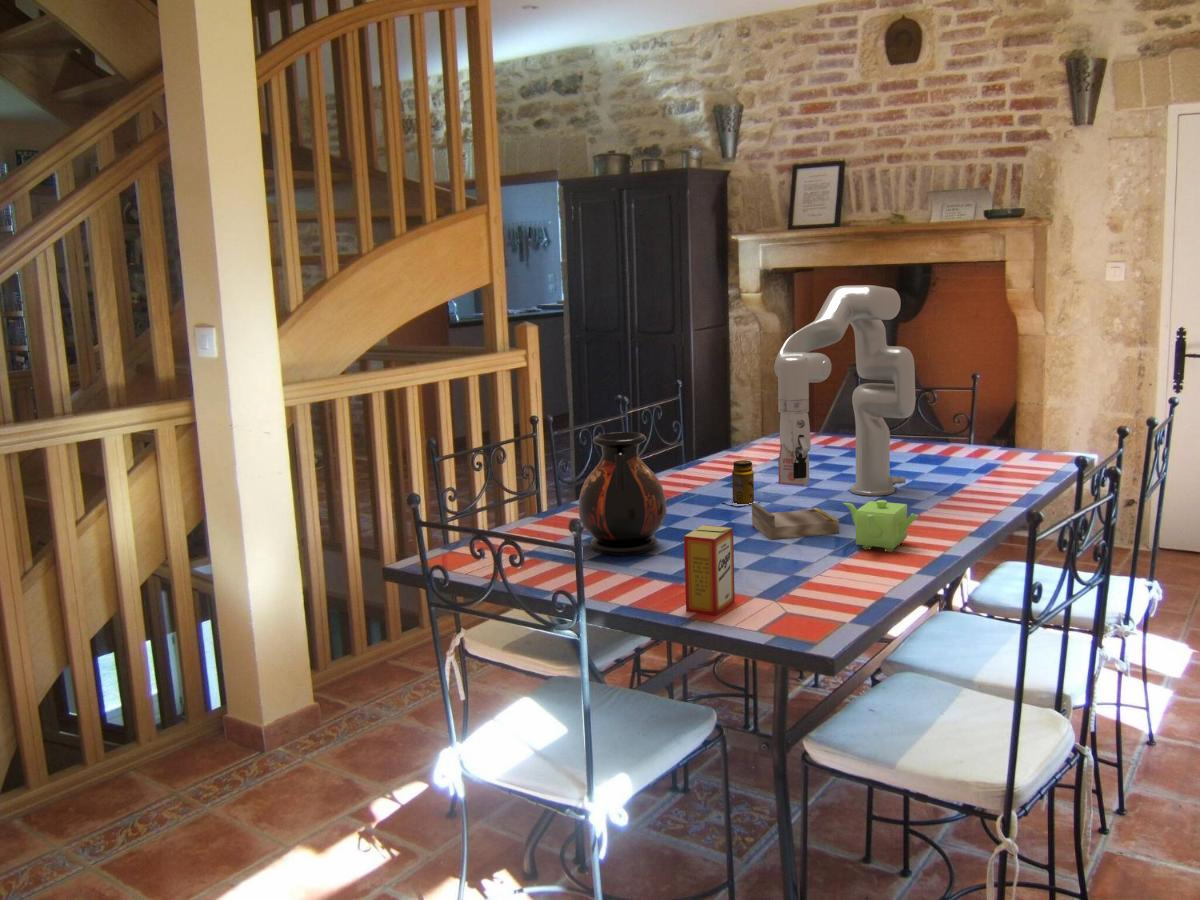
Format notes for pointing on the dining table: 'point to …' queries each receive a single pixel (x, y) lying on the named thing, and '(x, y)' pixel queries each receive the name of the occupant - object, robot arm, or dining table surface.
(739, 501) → the condiment
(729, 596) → the baking soda box
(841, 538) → the dining table surface
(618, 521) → the amphora vase
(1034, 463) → the dining table surface
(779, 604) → the dining table surface
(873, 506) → the kettle
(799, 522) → the dock
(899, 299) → the robot arm
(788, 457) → the small white carton
